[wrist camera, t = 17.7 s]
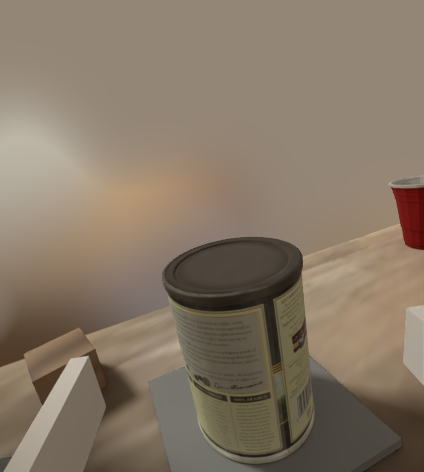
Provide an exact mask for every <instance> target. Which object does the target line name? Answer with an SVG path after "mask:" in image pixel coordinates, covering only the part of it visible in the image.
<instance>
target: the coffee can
mask: <svg viewBox="0 0 424 472" xmlns="http://www.w3.org/2000/svg"><path fill="white" fill-rule="evenodd" d="M302 267H303V258H302V254H301V252H300V251H299V249H298V248H297V247H295V246H294V245H292V244H290V243H288V242H285V241H282V240H278V239H272V238H264V237H242V238H232V239H225V240H221V241H216V242H212V243H208V244H205V245H202V246H199V247H196V248H193V249H191V250H189V251H187V252H185V253H183V254H181V255H179V256H178V257H176V258H175V259H173V260H172V261H171V262H170V263H169V264H168V265H167V266H166V267H165V269H164V271H163V273H162V281H163V284H164V287H165V290H166V291H167V293H168V297H169V302H170V306H171V310H172V314H173V318H174V322H175V326H176V330H177V334H178V338H179V342H180V346H181V350H182V355H183V359H184V363H185V367H186V371H187V375H188V379H189V383H190V387H191V391H192V395H193V399H194V403H195V407H196V411H197V418H198V423H199V427H200V430H201V432H202V434H203V436H204V438H205V439H206V441H207V442H208V444H209V445H210V446H211V447H212V448H213V449H215V450H216V451H217V452H218V453H220V454H221V455H223V456H224V457H226V458H229V459H231V460H234V461H237V462H241V463H246V464H262V463H269V462H273V461H277V460H280V459H282V458H284V457H286V456H288V455H290V454H292V453H293V452H294V451H296V450H297V449H298V448H299V447H300V446H301V445H302V444H303V443H304V441H305V440H306V439H307V437H308V435H309V433H310V431H311V429H312V426H313V422H314V416H315V407H314V401H313V395H312V384H311V373H310V362H309V351H308V340H307V328H306V317H305V307H304V295H303V284H302V273H301V271H302Z"/></svg>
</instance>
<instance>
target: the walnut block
mask: <svg viewBox="0 0 424 472" xmlns="http://www.w3.org/2000/svg"><path fill="white" fill-rule="evenodd" d="M85 356H89V358H90V361H91V364H92V367H93V370H94V373H95V375H96V378H97V381H98V384H99V387H100V390H101V389H102V388H104V387H106V386H107V382H106V379H105V377H104V374H103V371H102V368H101V365H100V362H99V359H98V356H97V353H96V350H95V348H94V347H93V345H92V344H91V343H90V341H89V340H88V339H87V337H86V336H85V335H84V333H83V332H82V331H81V329H80V328H77V329H75V330H73V331H71V332H69V333H67V334H65V335H63V336H60V337H58V338H56V339H54V340H52V341H50V342H48V343H46V344H44V345H42V346H40V347H37V348H35V349H33V350H31V351H29V352H27V353H25V354H24V357H25V360H26V363H27V366H28V370H29V373H30V376H31V379H32V382H33V385H34V387H35V389H36V392H37V394H38V396H39V399H40V401H41V403H42V406H43V404H44V403H45V401H46V399H47V398H48V396H49V394H50V392H51V391H52V389H53V387H54V386H55V384H56V382H57V381H58V379H59V377H60V376H61V374H62V372H63V371H64V369H65V367H66V365H67V364H68V362H69V360H70V359H72V358H78V357H85Z"/></svg>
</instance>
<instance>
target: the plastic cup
mask: <svg viewBox="0 0 424 472" xmlns="http://www.w3.org/2000/svg"><path fill="white" fill-rule="evenodd" d="M389 186H390V187H391V188H392V190H393V194H394V196H395V199H396V202H397V208H398V213H399V218H400V224H401V227H402V231H403V238H404V241H405V244H406V245H407V246H409V247H411V248H416V249H424V175H420V176H414V177H408V178H403V179H399V180H395V181H392V182H390V183H389Z"/></svg>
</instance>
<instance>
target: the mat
mask: <svg viewBox="0 0 424 472" xmlns="http://www.w3.org/2000/svg"><path fill="white" fill-rule="evenodd" d="M309 362H310V373H311V384H312V395H313V401H314V407H315V416H314V422H313V426H312V429H311V431H310V433H309V435H308V437H307V439H306V440H305V441H304V443H303V444H302V445H301V446H300V447H299V448H298V449H297V450H296V451H294V452H293V453H292V454H290V455H288V456H286V457H284V458H282V459H280V460H277V461H273V462H269V463H262V464H246V463H241V462H237V461H234V460H231V459H229V458H226V457H224V456H223V455H221V454H220V453H218V452H217V451H216V450H215V449H213V448H212V447H211V446H210V445H209V444H208V442H207V441H206V439H205V438H204V436H203V434H202V432H201V430H200V427H199V423H198V418H197V411H196V407H195V403H194V399H193V395H192V391H191V387H190V383H189V379H188V375H187V371H186V367H183V368H180V369H178V370H176V371H173V372H171V373H168V374H166V375H163V376H161V377H159V378H156V379H154V380H151V381H149V382H148V383H149V387H150V391H151V395H152V399H153V403H154V407H155V411H156V414H157V418H158V422H159V426H160V430H161V434H162V438H163V442H164V446H165V450H166V453H167V457H168V461H169V465H170V469H171V472H363V471H365V470H366V469H368V468H370V467H371V466H373V465H374V464H376V463H377V462H379V461H380V460H382V459H383V458H385V457H386V456H388V455H389V454H391V453H393V452H394V451H396V450H397V449H399V448H400V447H402V438H401V437H400V436H399V435H397V434H396V433H395V432H394V431H393V430H392V429H391V428H390V427H388V426H387V425H386V424H385V423H384V422H383V421H382V420H381V419H379V418H378V417H377V416H376V415H375V414H374V413H373V412H372V411H371V410H369V409H368V408H367V407H366V406H365V405H364V404H363V403H362V402H360V401H359V400H358V399H357V398H356V397H355V396H354V395H353V394H351V393H350V392H349V391H348V390H347V389H346V388H345V387H344V386H342V385H341V384H340V383H339V382H338V381H337V380H336V379H335V378H333V377H332V376H331V375H330V374H329V373H328V372H327V371H326V370H324V369H323V368H322V367H321V366H320V365H319V364H318V363H317V362H315V361H314V360H313V359H312V358H311V357H310V356H309Z"/></svg>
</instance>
